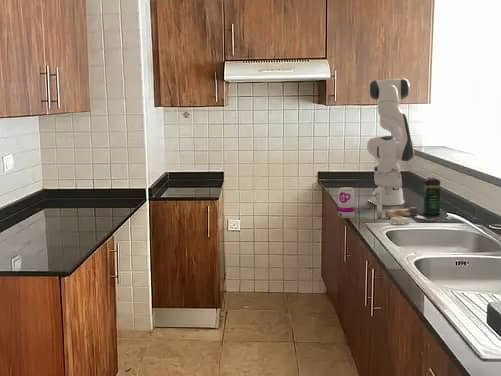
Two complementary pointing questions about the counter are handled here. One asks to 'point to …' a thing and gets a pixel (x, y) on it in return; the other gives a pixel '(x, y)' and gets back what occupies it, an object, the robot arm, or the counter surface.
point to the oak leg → (401, 212)
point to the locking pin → (379, 211)
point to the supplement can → (346, 202)
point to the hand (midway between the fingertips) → (388, 195)
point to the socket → (399, 220)
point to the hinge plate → (420, 217)
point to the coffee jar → (432, 196)
